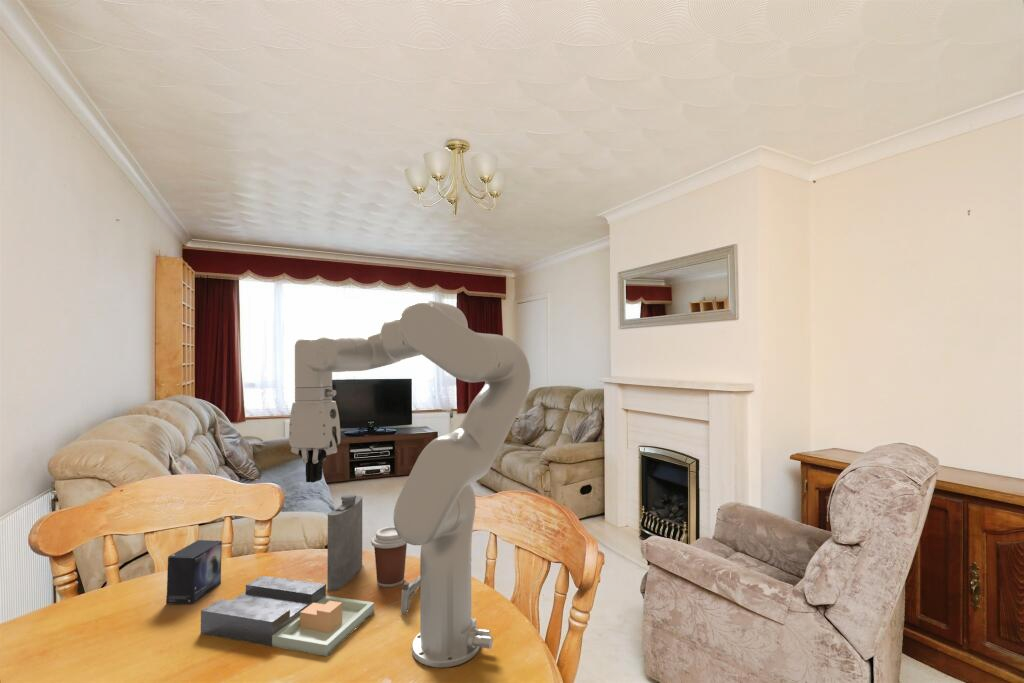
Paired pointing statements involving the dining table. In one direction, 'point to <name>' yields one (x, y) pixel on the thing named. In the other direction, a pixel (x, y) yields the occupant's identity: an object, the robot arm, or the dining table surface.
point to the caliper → (408, 594)
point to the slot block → (260, 609)
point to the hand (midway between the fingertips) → (314, 480)
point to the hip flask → (344, 541)
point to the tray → (321, 641)
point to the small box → (193, 571)
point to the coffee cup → (389, 557)
